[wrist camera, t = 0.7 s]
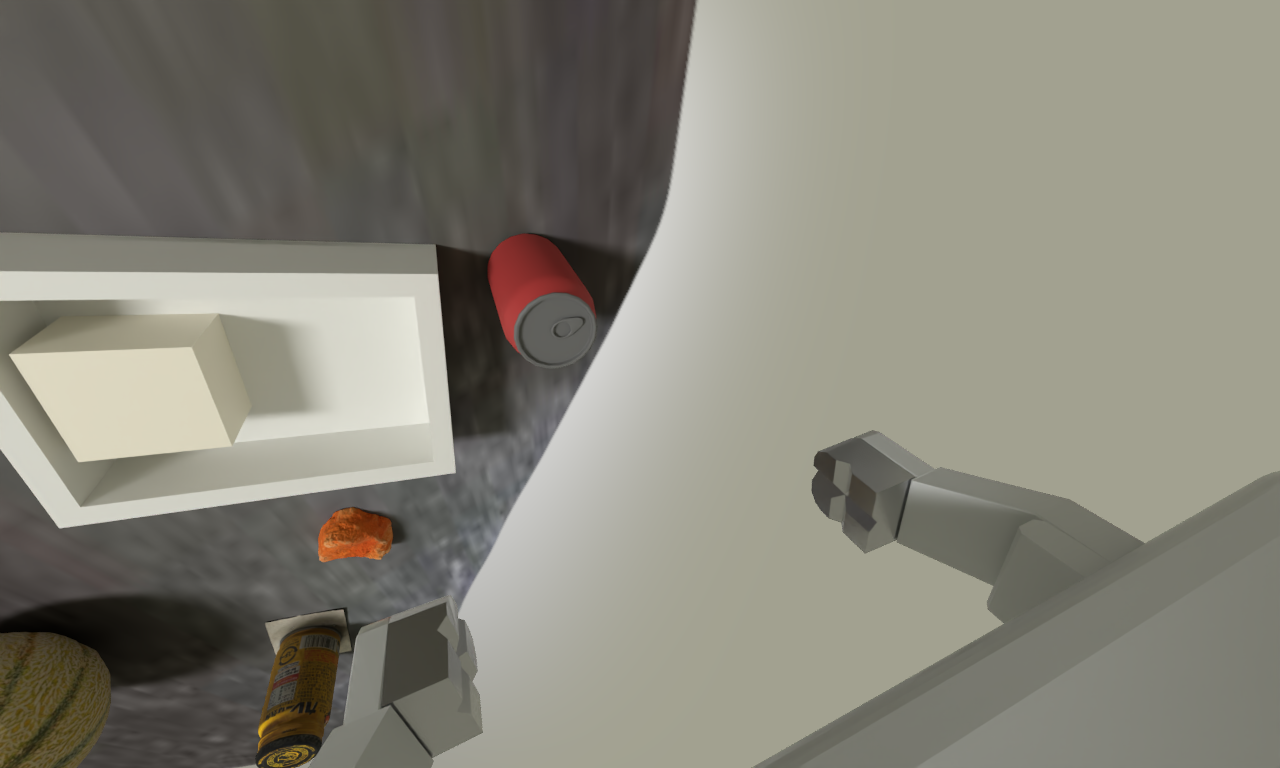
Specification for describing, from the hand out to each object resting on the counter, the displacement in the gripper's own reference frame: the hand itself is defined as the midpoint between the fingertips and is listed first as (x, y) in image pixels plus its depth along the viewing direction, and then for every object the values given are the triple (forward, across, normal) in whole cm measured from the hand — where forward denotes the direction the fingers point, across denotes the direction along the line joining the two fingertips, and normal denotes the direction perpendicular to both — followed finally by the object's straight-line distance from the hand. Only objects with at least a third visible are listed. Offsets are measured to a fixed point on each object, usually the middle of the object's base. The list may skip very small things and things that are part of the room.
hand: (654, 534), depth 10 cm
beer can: (+34, -2, +4) cm, 35 cm away
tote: (+35, +18, +6) cm, 40 cm away
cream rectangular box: (+34, +24, +4) cm, 42 cm away
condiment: (+39, +31, +40) cm, 64 cm away
